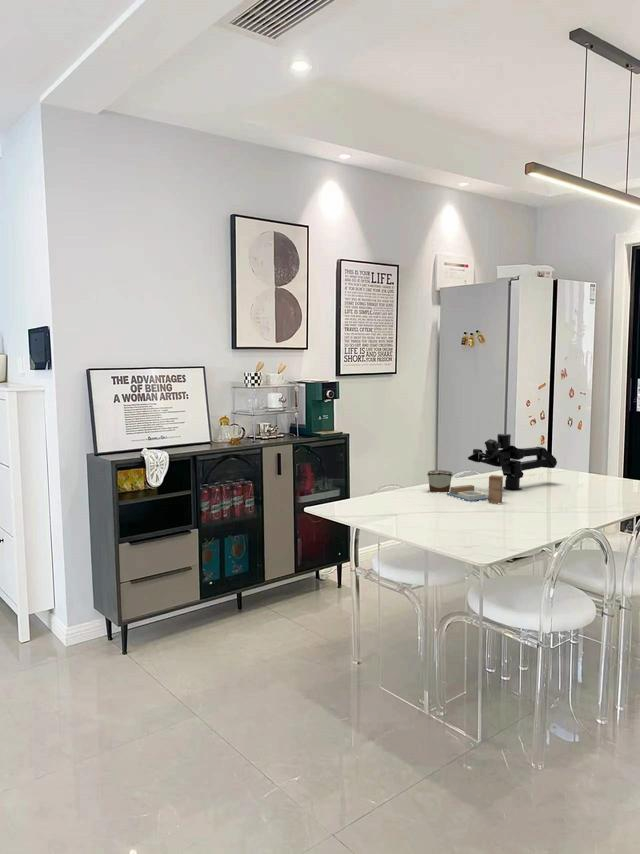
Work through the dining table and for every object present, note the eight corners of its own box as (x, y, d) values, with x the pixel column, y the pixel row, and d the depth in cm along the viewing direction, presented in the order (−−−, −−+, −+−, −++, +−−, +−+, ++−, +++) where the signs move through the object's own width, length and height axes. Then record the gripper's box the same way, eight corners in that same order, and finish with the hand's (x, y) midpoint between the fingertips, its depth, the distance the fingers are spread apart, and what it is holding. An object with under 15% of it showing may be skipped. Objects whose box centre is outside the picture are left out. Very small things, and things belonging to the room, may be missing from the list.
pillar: (491, 500, 314) (491, 474, 313) (502, 501, 312) (502, 475, 311) (488, 502, 310) (489, 476, 309) (499, 504, 308) (500, 477, 306)
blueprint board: (469, 492, 333) (470, 484, 332) (493, 499, 318) (493, 490, 317) (446, 494, 326) (446, 486, 326) (469, 502, 311) (470, 493, 311)
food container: (451, 490, 337) (451, 470, 336) (452, 492, 331) (452, 472, 330) (425, 489, 338) (426, 469, 337) (426, 492, 332) (427, 471, 331)
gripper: (485, 437, 341) (461, 440, 333) (513, 441, 325) (488, 445, 317) (485, 459, 342) (461, 463, 335) (513, 464, 326) (488, 469, 318)
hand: (474, 459), depth 326 cm, fingers open, 9 cm apart
